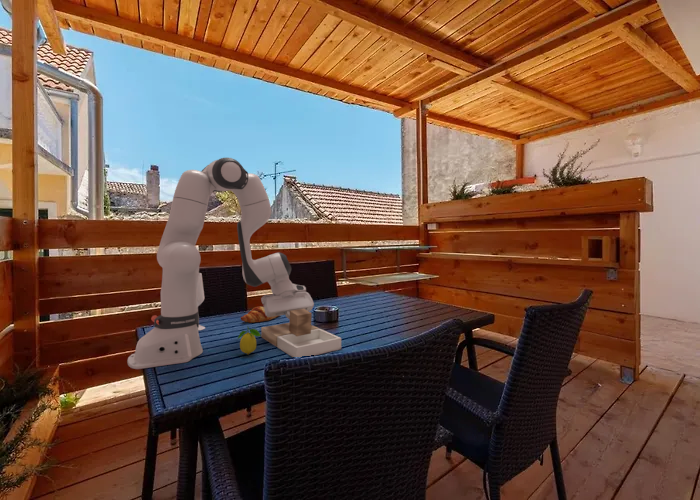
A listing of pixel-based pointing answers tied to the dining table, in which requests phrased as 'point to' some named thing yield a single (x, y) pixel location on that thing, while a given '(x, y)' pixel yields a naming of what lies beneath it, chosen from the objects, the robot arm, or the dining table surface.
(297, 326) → the walnut block
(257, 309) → the croissant
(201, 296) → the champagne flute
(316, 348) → the box
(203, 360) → the dining table surface
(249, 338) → the lemon
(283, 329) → the wooden board
